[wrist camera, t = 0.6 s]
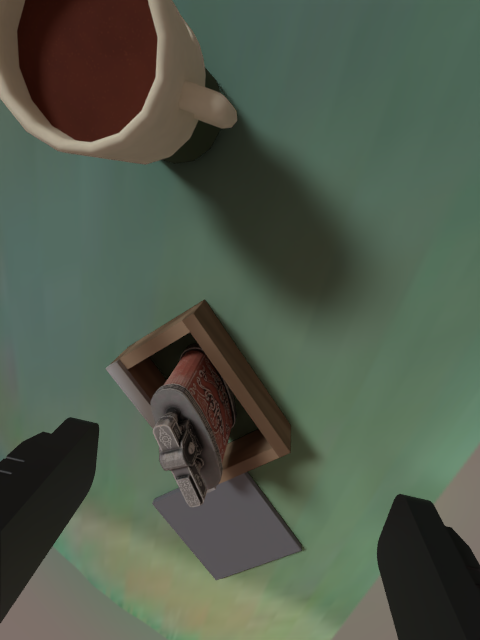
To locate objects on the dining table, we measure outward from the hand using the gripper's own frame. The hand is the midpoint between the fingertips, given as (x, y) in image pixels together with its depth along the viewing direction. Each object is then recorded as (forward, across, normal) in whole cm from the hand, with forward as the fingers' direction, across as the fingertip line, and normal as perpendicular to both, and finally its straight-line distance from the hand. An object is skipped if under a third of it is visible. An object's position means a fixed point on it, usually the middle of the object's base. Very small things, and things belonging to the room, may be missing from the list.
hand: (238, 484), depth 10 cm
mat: (+21, -1, +22) cm, 31 cm away
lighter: (+20, +3, +8) cm, 22 cm away
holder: (+20, +3, +8) cm, 22 cm away
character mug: (+20, +8, -12) cm, 24 cm away
